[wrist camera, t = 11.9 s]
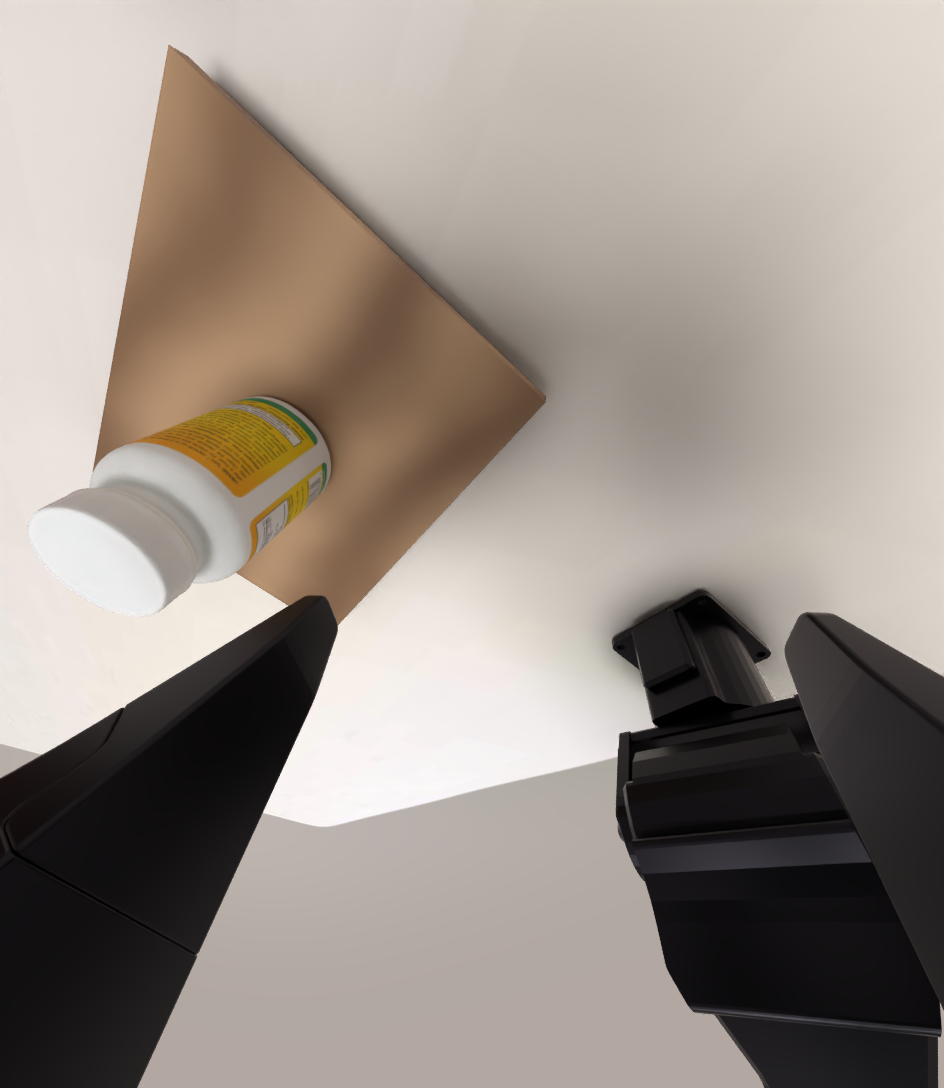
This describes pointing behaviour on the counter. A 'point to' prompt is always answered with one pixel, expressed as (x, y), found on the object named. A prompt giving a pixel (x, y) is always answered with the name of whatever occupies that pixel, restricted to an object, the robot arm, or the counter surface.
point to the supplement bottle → (183, 505)
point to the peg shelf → (299, 342)
